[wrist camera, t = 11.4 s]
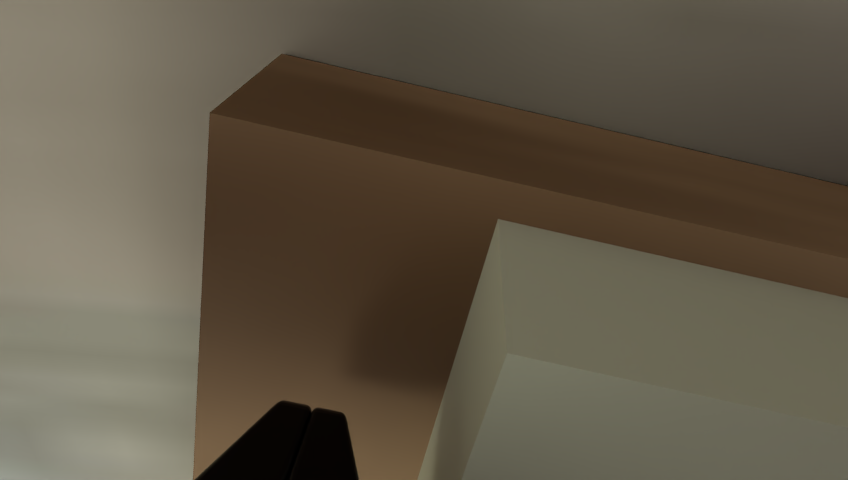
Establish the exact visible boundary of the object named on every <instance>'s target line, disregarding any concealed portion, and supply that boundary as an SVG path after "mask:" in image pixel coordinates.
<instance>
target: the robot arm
mask: <svg viewBox="0 0 848 480" xmlns="http://www.w3.org/2000/svg"><path fill="white" fill-rule="evenodd" d="M194 480H359V477H358V472H357V467H356V462H355V457H354V452H353V447H352V442H351V438H350V433H349V428H348V423H347V418H346V416H345V414H344V413H342V412H339V411H334V410H329V409H324V408H319V407H317V408H314V409H313V411H312V410H311V408H310V407H309V406H308V405H305V404H300V403H295V402H290V401H286V400H282V401H279V402H278V403H276V404H275V405H274V406H273V407H272V408H271V409H270V410H269V411H268V412H266V413H265V414H264V415H263V416H262V417H261V418H260V419H259V420H258V421H257V422H256V423H255V424H254V425H252V426H251V427H250V428H249V429H248V430H247V431H246V432H245V433H244V434H243V435H242V436H241V437H240V438H239V439H237V440H236V441H235V442H234V443H233V444H232V445H231V446H230V447H229V448H228V449H227V450H226V451H225V452H223V453H222V454H221V455H220V456H219V457H218V458H217V459H216V460H215V461H214V462H213V463H212V464H211V465H210V466H208V467H207V468H206V469H205V470H204V471H203V472H202V473H201V474H200V475H199V476H198V477H197V478H196V479H194Z"/></svg>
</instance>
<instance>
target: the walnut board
mask: <svg viewBox="0 0 848 480" xmlns="http://www.w3.org/2000/svg"><path fill="white" fill-rule="evenodd" d="M498 219H500V220H505V221H509V222H514V223H518V224H522V225H527V226H531V227H536V228H540V229H544V230H549V231H553V232H558V233H562V234H567V235H571V236H575V237H580V238H584V239H589V240H593V241H597V242H602V243H606V244H611V245H615V246H619V247H624V248H628V249H633V250H637V251H641V252H646V253H650V254H655V255H659V256H664V257H668V258H672V259H677V260H681V261H686V262H690V263H694V264H699V265H703V266H708V267H712V268H716V269H721V270H725V271H730V272H734V273H738V274H743V275H747V276H752V277H756V278H761V279H765V280H769V281H774V282H778V283H783V284H787V285H791V286H796V287H800V288H805V289H809V290H813V291H818V292H822V293H827V294H831V295H836V296H840V297H844V298H848V186H844V185H840V184H835V183H831V182H827V181H823V180H818V179H814V178H810V177H806V176H801V175H797V174H793V173H788V172H784V171H780V170H776V169H771V168H767V167H763V166H759V165H754V164H750V163H746V162H742V161H737V160H733V159H729V158H724V157H720V156H716V155H712V154H707V153H703V152H699V151H695V150H690V149H686V148H682V147H677V146H673V145H669V144H665V143H660V142H656V141H652V140H648V139H643V138H639V137H635V136H631V135H626V134H622V133H618V132H613V131H609V130H605V129H601V128H596V127H592V126H588V125H584V124H579V123H575V122H571V121H566V120H562V119H558V118H554V117H549V116H545V115H541V114H537V113H532V112H528V111H524V110H520V109H515V108H511V107H507V106H502V105H498V104H494V103H490V102H485V101H481V100H477V99H473V98H468V97H464V96H460V95H455V94H451V93H447V92H443V91H438V90H434V89H430V88H426V87H421V86H417V85H413V84H408V83H404V82H400V81H396V80H391V79H387V78H383V77H379V76H374V75H370V74H366V73H362V72H357V71H353V70H349V69H344V68H340V67H336V66H332V65H327V64H323V63H319V62H315V61H310V60H306V59H302V58H297V57H293V56H289V55H285V54H281V55H280V56H279V57H277V58H276V59H275V60H274V61H272V62H271V63H270V64H269V65H268V66H266V67H265V68H264V69H263V70H261V71H260V72H259V73H258V74H257V75H255V76H254V77H253V78H252V79H250V80H249V81H248V82H247V83H246V84H244V85H243V86H242V87H241V88H239V89H238V90H237V91H236V92H235V93H233V94H232V95H231V96H230V97H229V98H227V99H226V100H225V101H224V102H222V103H221V104H220V105H219V106H218V107H216V108H215V109H214V110H213V111H211V112H210V121H209V143H208V165H207V186H206V208H205V230H204V252H203V274H202V296H201V318H200V340H199V362H198V384H197V406H196V428H195V449H194V471H193V480H194V479H196V478H197V477H198V476H199V475H200V474H201V473H202V472H203V471H204V470H205V469H206V468H207V467H208V466H210V465H211V464H212V463H213V462H214V461H215V460H216V459H217V458H218V457H219V456H220V455H221V454H222V453H223V452H225V451H226V450H227V449H228V448H229V447H230V446H231V445H232V444H233V443H234V442H235V441H236V440H237V439H239V438H240V437H241V436H242V435H243V434H244V433H245V432H246V431H247V430H248V429H249V428H250V427H251V426H252V425H254V424H255V423H256V422H257V421H258V420H259V419H260V418H261V417H262V416H263V415H264V414H265V413H266V412H268V411H269V410H270V409H271V408H272V407H273V406H274V405H275V404H276V403H278V402H279V401H282V400H286V401H290V402H295V403H300V404H305V405H308V406H309V407H310V408H311V410H312V411H313V409H314V408H317V407H319V408H324V409H329V410H334V411H339V412H342V413H344V414H345V416H346V418H347V423H348V428H349V433H350V438H351V442H352V447H353V452H354V457H355V462H356V467H357V472H358V477H359V480H417V479H418V476H419V473H420V470H421V466H422V463H423V460H424V457H425V453H426V450H427V447H428V444H429V440H430V437H431V434H432V431H433V428H434V424H435V421H436V418H437V415H438V411H439V408H440V405H441V402H442V398H443V395H444V392H445V389H446V386H447V382H448V379H449V376H450V373H451V369H452V366H453V363H454V360H455V356H456V353H457V350H458V347H459V344H460V340H461V337H462V334H463V331H464V327H465V324H466V321H467V318H468V314H469V311H470V308H471V305H472V302H473V298H474V295H475V292H476V289H477V285H478V282H479V279H480V276H481V272H482V269H483V266H484V263H485V260H486V256H487V253H488V250H489V247H490V243H491V240H492V237H493V234H494V230H495V227H496V224H497V221H498Z"/></svg>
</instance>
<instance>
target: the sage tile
mask: <svg viewBox="0 0 848 480" xmlns="http://www.w3.org/2000/svg"><path fill="white" fill-rule="evenodd" d="M417 480H848V298H844V297H840V296H836V295H831V294H827V293H822V292H818V291H813V290H809V289H805V288H800V287H796V286H791V285H787V284H783V283H778V282H774V281H769V280H765V279H761V278H756V277H752V276H747V275H743V274H738V273H734V272H730V271H725V270H721V269H716V268H712V267H708V266H703V265H699V264H694V263H690V262H686V261H681V260H677V259H672V258H668V257H664V256H659V255H655V254H650V253H646V252H641V251H637V250H633V249H628V248H624V247H619V246H615V245H611V244H606V243H602V242H597V241H593V240H589V239H584V238H580V237H575V236H571V235H567V234H562V233H558V232H553V231H549V230H544V229H540V228H536V227H531V226H527V225H522V224H518V223H514V222H509V221H505V220H500V219H498V221H497V224H496V227H495V230H494V234H493V237H492V240H491V243H490V247H489V250H488V253H487V256H486V260H485V263H484V266H483V269H482V272H481V276H480V279H479V282H478V285H477V289H476V292H475V295H474V298H473V302H472V305H471V308H470V311H469V314H468V318H467V321H466V324H465V327H464V331H463V334H462V337H461V340H460V344H459V347H458V350H457V353H456V356H455V360H454V363H453V366H452V369H451V373H450V376H449V379H448V382H447V386H446V389H445V392H444V395H443V398H442V402H441V405H440V408H439V411H438V415H437V418H436V421H435V424H434V428H433V431H432V434H431V437H430V440H429V444H428V447H427V450H426V453H425V457H424V460H423V463H422V466H421V470H420V473H419V476H418V479H417Z"/></svg>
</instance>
